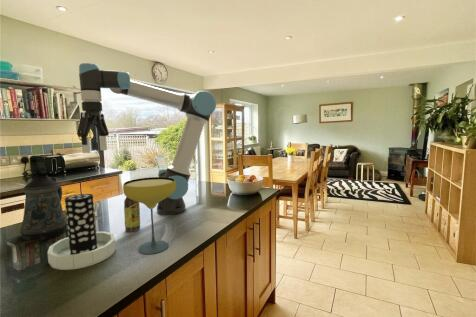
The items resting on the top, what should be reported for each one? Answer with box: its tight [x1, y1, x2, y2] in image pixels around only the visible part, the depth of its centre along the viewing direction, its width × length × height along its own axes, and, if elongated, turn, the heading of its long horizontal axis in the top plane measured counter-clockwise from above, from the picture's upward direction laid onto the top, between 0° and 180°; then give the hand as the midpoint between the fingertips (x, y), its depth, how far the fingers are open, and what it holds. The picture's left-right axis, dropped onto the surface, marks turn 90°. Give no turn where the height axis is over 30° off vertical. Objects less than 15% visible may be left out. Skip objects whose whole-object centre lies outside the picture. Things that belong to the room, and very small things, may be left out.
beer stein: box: [19, 174, 68, 241], centre depth 113 cm, size 16×19×25 cm
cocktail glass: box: [122, 176, 176, 255], centre depth 96 cm, size 18×18×25 cm
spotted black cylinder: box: [64, 193, 97, 255], centre depth 91 cm, size 8×8×20 cm
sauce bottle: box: [123, 196, 141, 233], centre depth 114 cm, size 6×6×20 cm
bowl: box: [46, 231, 117, 271], centre depth 92 cm, size 20×20×4 cm
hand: (95, 151), depth 113 cm, fingers open, 13 cm apart
